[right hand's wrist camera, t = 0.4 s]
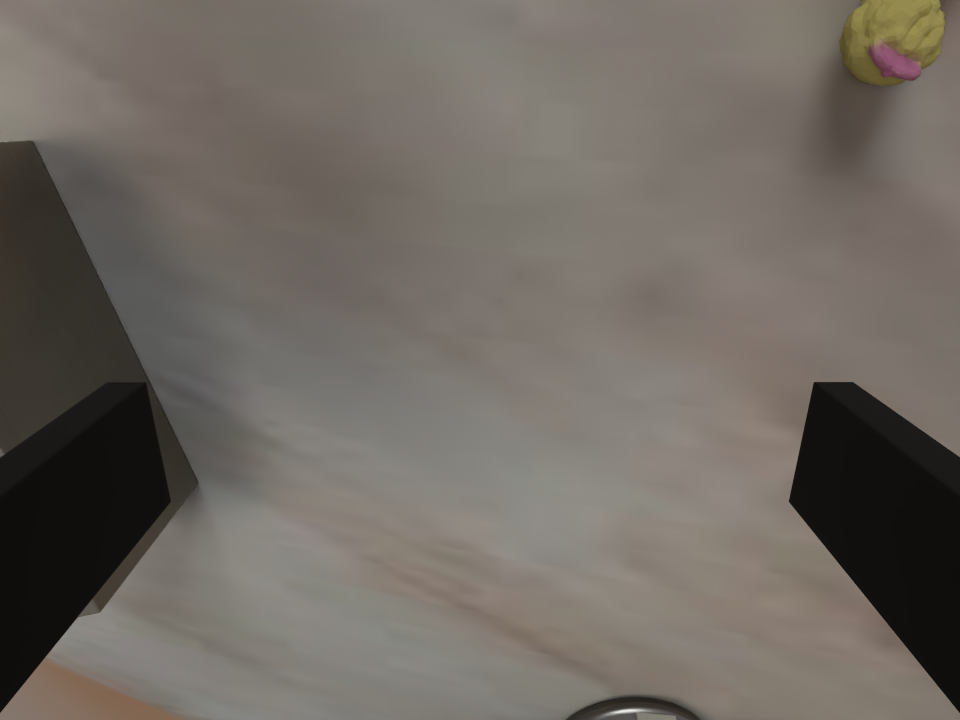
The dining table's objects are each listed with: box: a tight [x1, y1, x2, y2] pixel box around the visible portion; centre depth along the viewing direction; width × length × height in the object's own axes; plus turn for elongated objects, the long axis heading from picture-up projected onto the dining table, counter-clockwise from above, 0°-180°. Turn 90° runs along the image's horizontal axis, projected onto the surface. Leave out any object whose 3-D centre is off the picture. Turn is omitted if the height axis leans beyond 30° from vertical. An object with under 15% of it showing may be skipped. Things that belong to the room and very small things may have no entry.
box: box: [0, 141, 198, 617], centre depth 35 cm, size 24×6×13 cm, turn 14°
